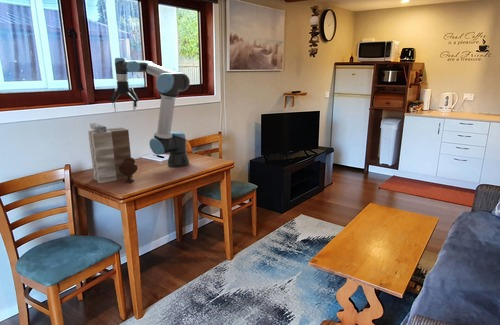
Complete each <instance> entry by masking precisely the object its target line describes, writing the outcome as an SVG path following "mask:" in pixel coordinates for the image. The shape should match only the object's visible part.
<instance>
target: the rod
mask: <svg viewBox="0 0 500 325" xmlns="http://www.w3.org/2000/svg"><path fill="white" fill-rule="evenodd" d="M89 128H90V130H95V132H97V133H101V132H107V130H106V129H107V126H105V125H101V124H98V123H95V122H93V123H90V124H89Z"/></svg>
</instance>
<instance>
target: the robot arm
mask: <svg viewBox="0 0 500 325" xmlns="http://www.w3.org/2000/svg"><path fill="white" fill-rule="evenodd" d="M114 68H115V74H116V75H115V77H116V78H115V79H116V87H117V88H116V87H112V93H111V96H110V98H109V102H112V104H113V103H114V107H113V108H114V109H115V110H114V112H115V113H116V103H117V100H118V99H119V97H120V96H121V95H127V97H129V99H131V100H132V109H133V110H132V111H133V113H134V112H137V107H138V105H137V104H138V103H137V102H140V100H139V98H138V96H137V93H136V92H135V90H134V88H133V87H129V77H128V73H146V74H149V75H152V76H153V77H157V79H156V83H155V84H156V85H155V86H156V89H157V91H158V93H159V95H160V106H159V113H158V122H157V128H156V129H157V130H156V131H155V132H154V134H153V136H154V137H152V138H151V139H150V140H149V148H150V149H151V152H152V153H153V154H155V155H158V156H159V155H166V154H169V155H168V158H167V166H168V167H170V168H171V167H173V168H182V167H187V166H189V165H190V160H189V156H188V155H187V144H186V143H187V142H186V139H187V137H186V134H185V133H184V132H176V131H172V125H173V124H172V123H173V117H174V109H175V102H176V99H177V98H179V93H181V92H185V91H186V90H188V89H189V87H190V85H191V84H190V83H191V82H190V77H189V76H188V75H187V74H186V73H183V72H181V71H173V70H170V69H168V68H165V67H164V66H160V65H157V64H155V63H154V62H153V61H149V60H133V59H132V60H127V59H126V57H115V59H114ZM116 92H117V93H116Z"/></svg>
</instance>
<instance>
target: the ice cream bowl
mask: <svg viewBox="0 0 500 325" xmlns="http://www.w3.org/2000/svg"><path fill="white" fill-rule="evenodd" d="M135 163H136V160H135V158H134V157H132V156H131V157H127V158H126V159H125V160H124V162H123V163H122V164H121V166H119V171H120V172H121V173H122V174H124V175H127V177H128V178H126V180H124V183H125V184H133V183H135V180H134V179H132V177H130V176H131V175H132V174H133V175H134V174H135V173H136V172H137V171H138V164H135ZM132 182H133V183H132Z"/></svg>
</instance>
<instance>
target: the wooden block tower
mask: <svg viewBox="0 0 500 325" xmlns="http://www.w3.org/2000/svg"><path fill="white" fill-rule="evenodd" d="M106 130H107V132H101V133H97V132H95V130H93V129H90V130H88V131H87V133H88V140H89V149H90V156H91V157H90V158H91V166H92V172H93V179H94V180H95V181H96V182H97V183H98V184H105V183H110V182H114V181H119V180H125V179H126V180H127V179H128V177H127V175H124V174H122V173H121V172H120V171H119V166H121V164H122V163H123V162H124V160H125V159H126V158H127V157H132V154H131V153H132V151H131V144H130V143H131V142H130V134H129V132H130V131H129V129H127V128H125V127H115V128H113V127H112V128H106ZM133 175H134V174H132V175H131V176H130V177H131V178H133V177H134V176H133Z"/></svg>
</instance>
